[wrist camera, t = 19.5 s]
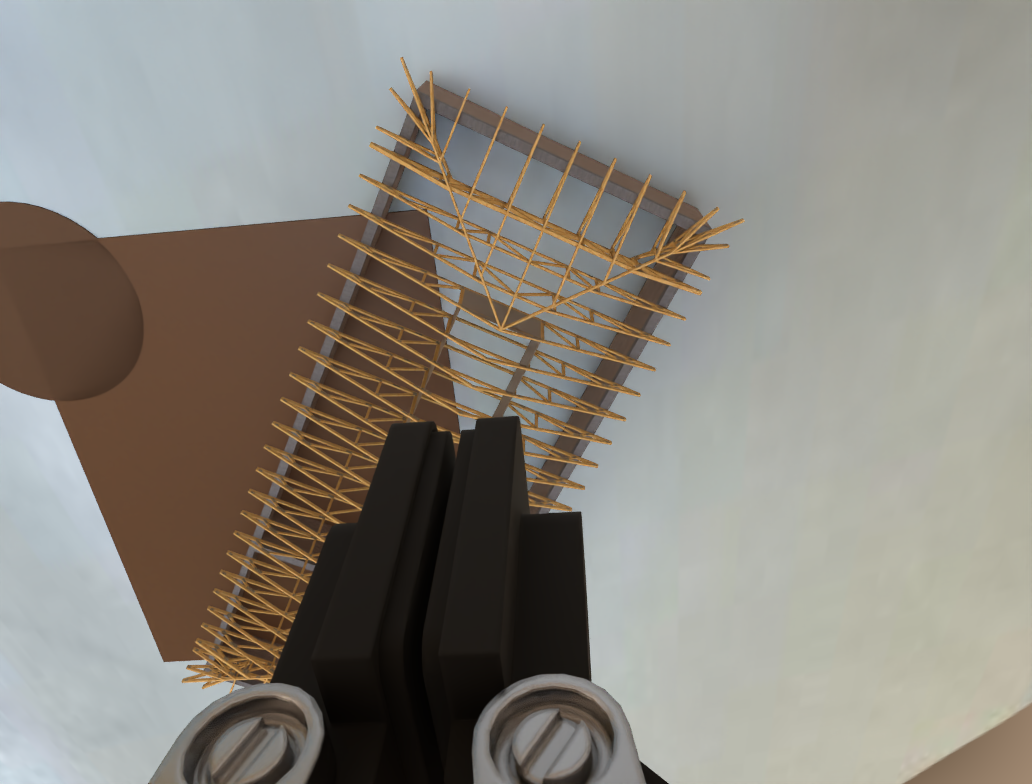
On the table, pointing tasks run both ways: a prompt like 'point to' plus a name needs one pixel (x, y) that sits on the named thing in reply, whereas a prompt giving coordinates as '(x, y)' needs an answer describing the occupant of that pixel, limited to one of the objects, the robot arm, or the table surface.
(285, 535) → the rafter model
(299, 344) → the brown flat board
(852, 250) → the table surface
